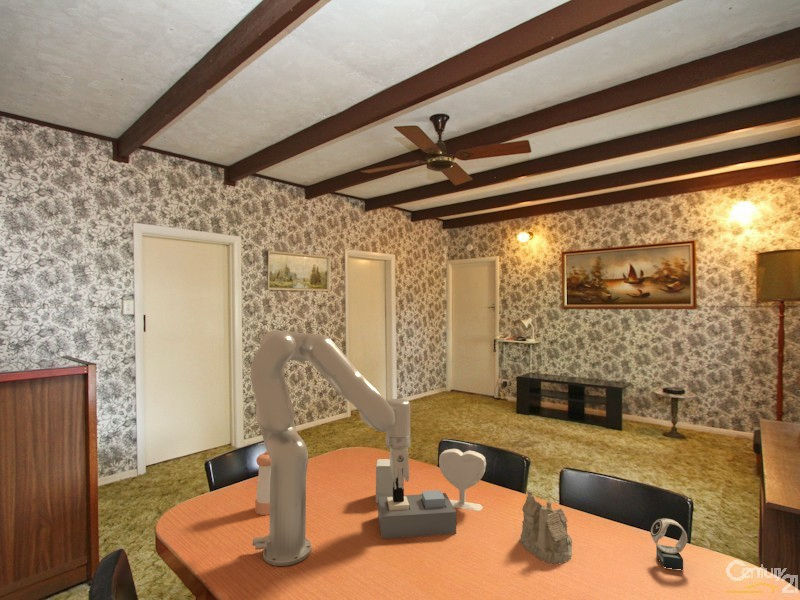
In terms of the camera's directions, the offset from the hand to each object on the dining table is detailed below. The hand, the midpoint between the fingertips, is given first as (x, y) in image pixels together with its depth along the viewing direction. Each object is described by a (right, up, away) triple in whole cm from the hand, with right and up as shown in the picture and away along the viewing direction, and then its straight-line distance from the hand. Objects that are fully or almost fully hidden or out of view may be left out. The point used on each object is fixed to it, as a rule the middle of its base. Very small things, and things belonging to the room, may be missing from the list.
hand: (398, 500), depth 127 cm
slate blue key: (+11, -4, +1) cm, 12 cm away
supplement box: (-4, -8, +18) cm, 21 cm away
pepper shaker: (-43, -8, +10) cm, 45 cm away
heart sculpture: (+22, -8, +14) cm, 27 cm away
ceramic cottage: (+43, -8, -10) cm, 45 cm away
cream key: (0, -5, 0) cm, 5 cm away
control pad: (+5, -8, 0) cm, 9 cm away
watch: (+71, -7, -19) cm, 73 cm away
